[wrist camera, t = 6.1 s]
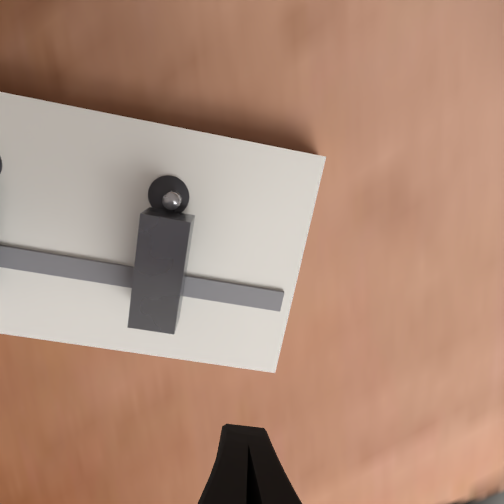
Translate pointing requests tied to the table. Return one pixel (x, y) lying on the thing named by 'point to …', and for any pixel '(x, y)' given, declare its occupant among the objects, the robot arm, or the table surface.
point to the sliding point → (160, 266)
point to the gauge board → (127, 223)
